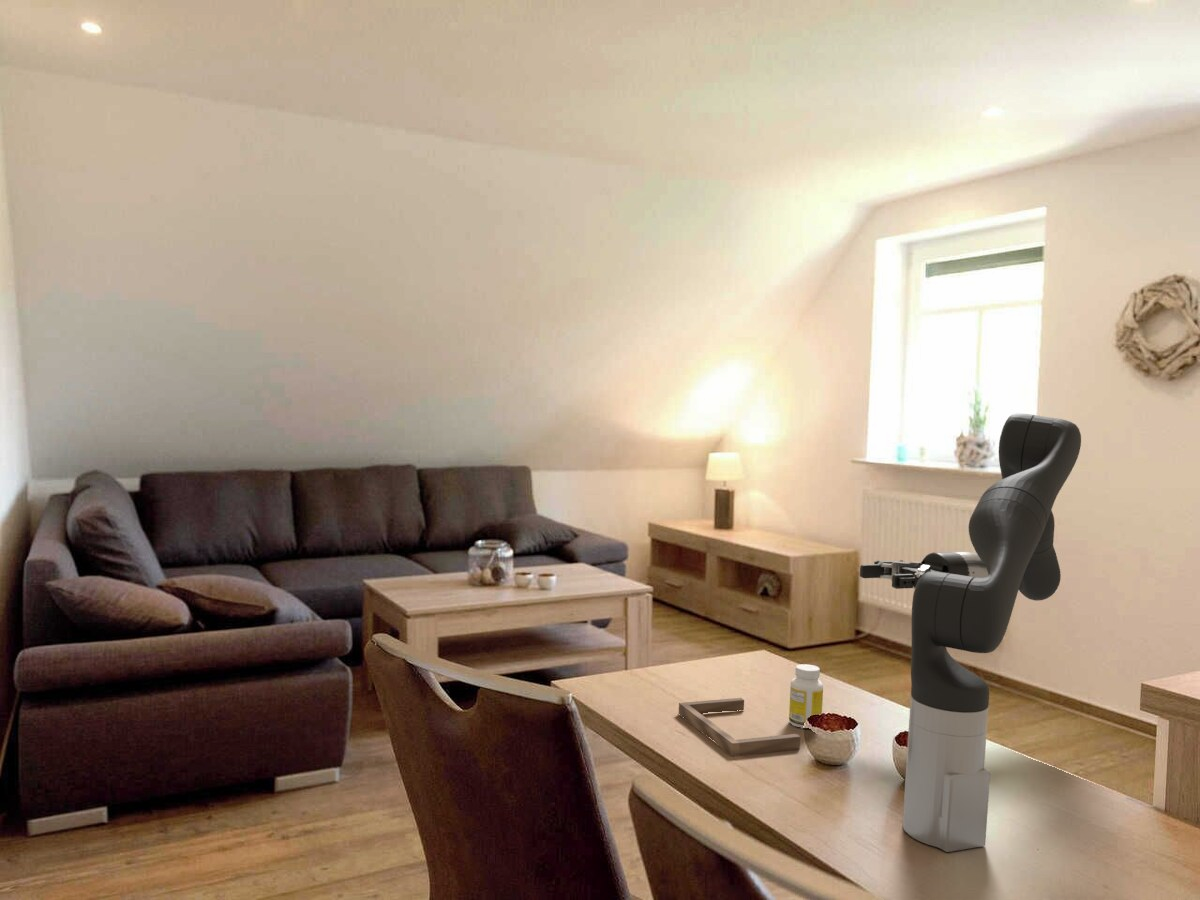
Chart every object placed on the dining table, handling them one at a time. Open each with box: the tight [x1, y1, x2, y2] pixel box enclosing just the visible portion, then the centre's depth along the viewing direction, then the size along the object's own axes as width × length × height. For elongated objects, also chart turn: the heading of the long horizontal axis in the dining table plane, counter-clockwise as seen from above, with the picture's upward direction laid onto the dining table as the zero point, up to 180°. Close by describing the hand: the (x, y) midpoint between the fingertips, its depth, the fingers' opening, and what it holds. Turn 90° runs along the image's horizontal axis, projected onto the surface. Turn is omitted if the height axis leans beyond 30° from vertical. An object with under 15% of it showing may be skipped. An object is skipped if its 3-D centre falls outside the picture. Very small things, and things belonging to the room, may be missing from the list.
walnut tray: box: [678, 697, 801, 757], centre depth 151 cm, size 19×12×2 cm, turn 20°
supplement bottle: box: [788, 663, 824, 730], centre depth 155 cm, size 5×5×10 cm
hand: (876, 576), depth 153 cm, fingers open, 8 cm apart
